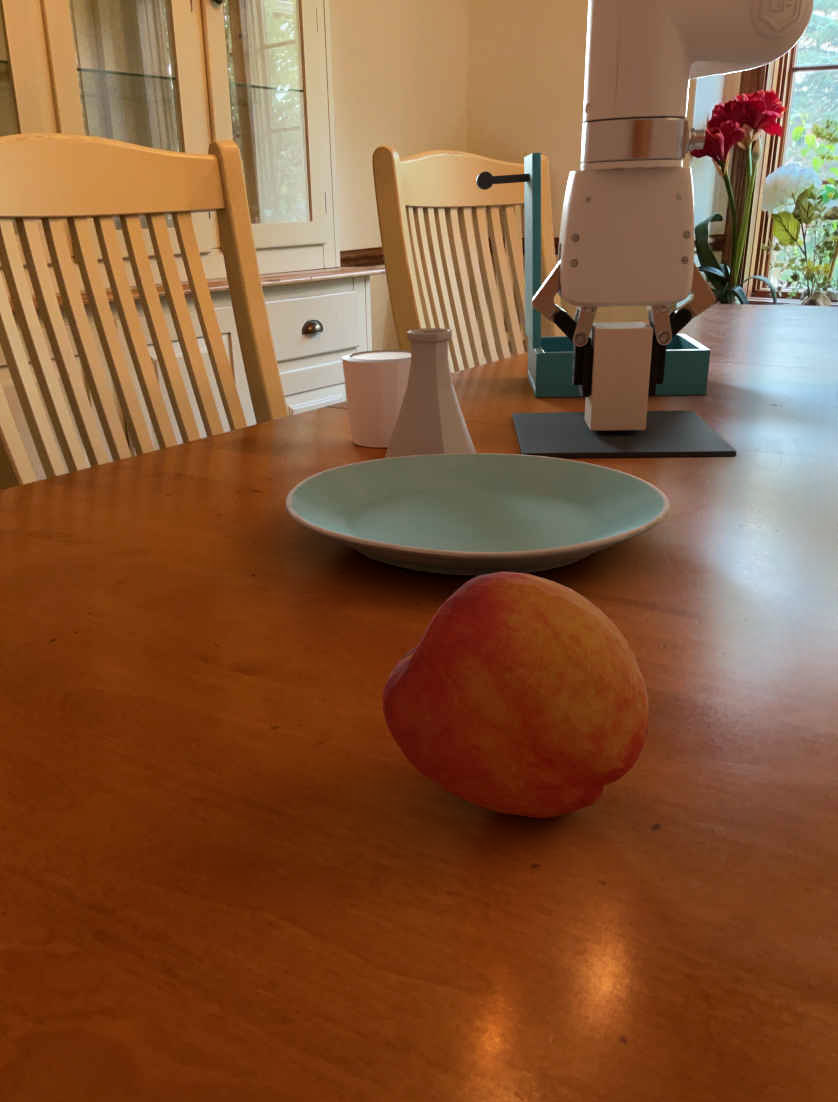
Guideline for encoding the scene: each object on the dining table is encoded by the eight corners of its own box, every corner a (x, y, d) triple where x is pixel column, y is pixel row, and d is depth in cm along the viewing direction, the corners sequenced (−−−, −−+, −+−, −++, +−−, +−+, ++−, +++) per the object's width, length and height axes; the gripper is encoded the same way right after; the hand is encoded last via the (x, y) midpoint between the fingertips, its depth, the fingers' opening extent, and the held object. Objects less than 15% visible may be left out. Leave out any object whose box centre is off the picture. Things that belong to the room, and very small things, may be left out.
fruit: (484, 719, 41) (488, 522, 38) (678, 787, 36) (701, 566, 33) (349, 804, 35) (340, 582, 32) (556, 898, 30) (569, 646, 27)
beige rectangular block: (637, 419, 88) (644, 321, 85) (645, 430, 84) (653, 327, 81) (584, 420, 89) (589, 322, 86) (590, 430, 85) (595, 329, 82)
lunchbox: (681, 374, 114) (684, 333, 112) (706, 394, 102) (710, 349, 100) (527, 376, 115) (528, 336, 113) (535, 397, 103) (536, 353, 102)
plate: (542, 475, 75) (543, 436, 74) (751, 565, 56) (757, 514, 55) (244, 514, 68) (241, 471, 67) (368, 633, 49) (367, 576, 48)
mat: (692, 414, 93) (692, 410, 93) (736, 456, 79) (736, 450, 79) (512, 417, 95) (512, 412, 95) (522, 458, 80) (522, 453, 80)
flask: (494, 462, 79) (497, 326, 75) (452, 485, 73) (453, 338, 70) (410, 453, 83) (408, 323, 79) (364, 474, 77) (360, 335, 73)
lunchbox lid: (532, 156, 106) (475, 160, 107) (541, 152, 95) (477, 157, 96) (532, 332, 113) (478, 335, 114) (540, 348, 102) (481, 351, 102)
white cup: (380, 453, 83) (378, 363, 80) (328, 440, 88) (324, 355, 85) (443, 439, 87) (443, 353, 84) (389, 428, 92) (387, 346, 89)
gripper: (735, 147, 81) (711, 384, 88) (516, 154, 83) (510, 387, 90) (760, 142, 74) (732, 401, 81) (521, 150, 76) (514, 403, 83)
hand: (616, 391), depth 85 cm, fingers closed on beige rectangular block, 4 cm apart
